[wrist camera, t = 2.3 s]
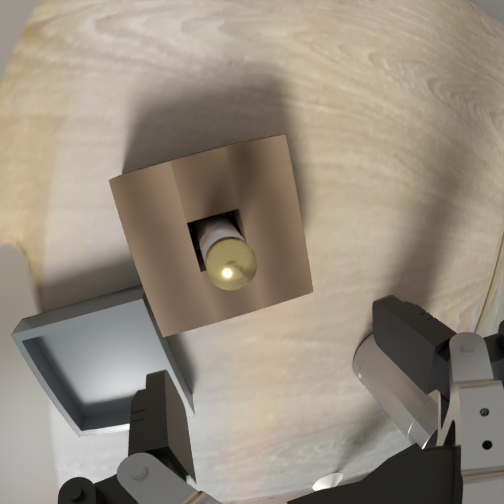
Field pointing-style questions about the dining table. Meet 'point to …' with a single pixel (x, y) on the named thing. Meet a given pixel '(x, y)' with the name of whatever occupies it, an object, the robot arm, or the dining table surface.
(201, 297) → the block
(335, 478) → the champagne flute
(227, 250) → the pin
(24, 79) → the dining table surface
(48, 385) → the tray
